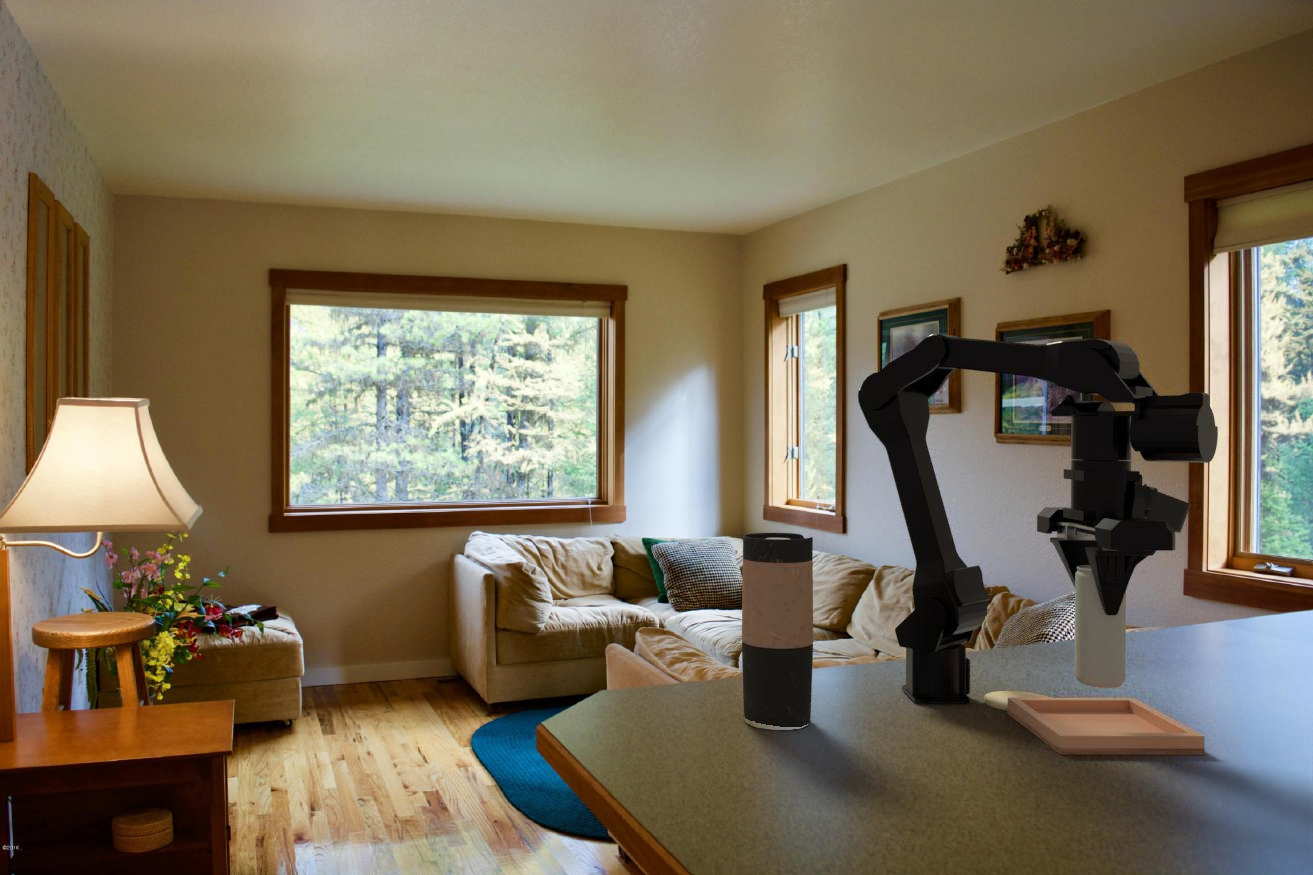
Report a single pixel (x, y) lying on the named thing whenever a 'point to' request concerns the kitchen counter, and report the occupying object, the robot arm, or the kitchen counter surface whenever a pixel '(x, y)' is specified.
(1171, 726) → the tray
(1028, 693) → the cork coaster
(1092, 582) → the beverage can
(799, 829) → the kitchen counter surface
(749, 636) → the travel mug
